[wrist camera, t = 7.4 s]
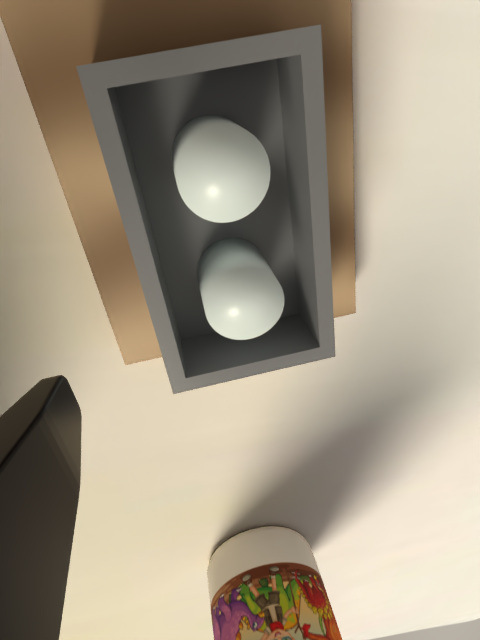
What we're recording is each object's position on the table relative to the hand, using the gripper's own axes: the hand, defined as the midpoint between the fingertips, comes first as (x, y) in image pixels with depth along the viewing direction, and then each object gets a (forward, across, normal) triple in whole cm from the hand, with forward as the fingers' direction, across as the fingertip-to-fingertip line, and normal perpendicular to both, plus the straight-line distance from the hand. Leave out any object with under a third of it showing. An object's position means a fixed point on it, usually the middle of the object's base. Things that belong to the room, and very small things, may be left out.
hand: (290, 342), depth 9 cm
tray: (+10, 0, 0) cm, 10 cm away
